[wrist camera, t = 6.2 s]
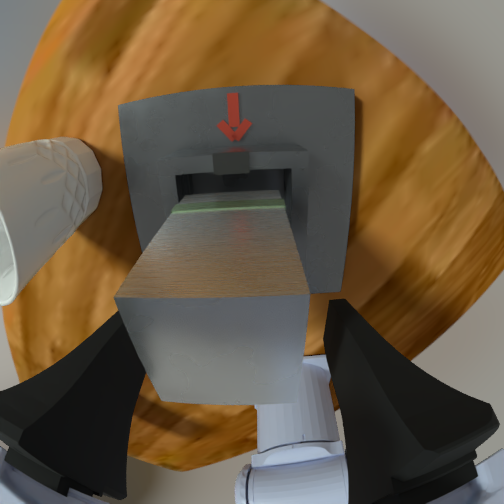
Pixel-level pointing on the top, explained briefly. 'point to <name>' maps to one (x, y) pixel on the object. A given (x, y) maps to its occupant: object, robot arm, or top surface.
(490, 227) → the top surface
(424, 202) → the top surface
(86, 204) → the white cup
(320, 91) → the gray frame
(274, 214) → the steel column
